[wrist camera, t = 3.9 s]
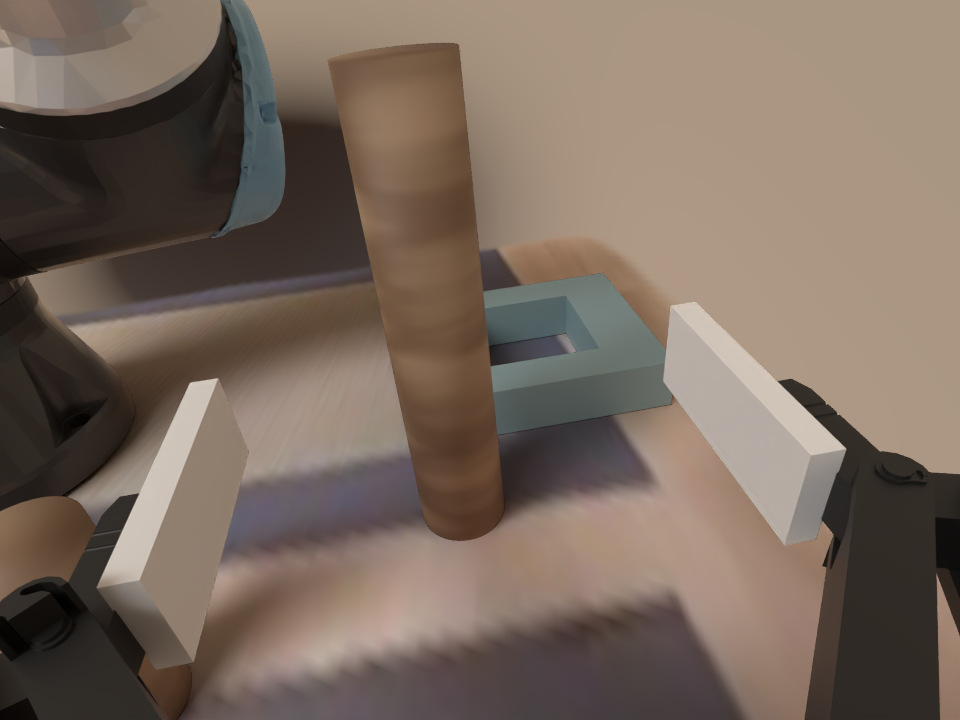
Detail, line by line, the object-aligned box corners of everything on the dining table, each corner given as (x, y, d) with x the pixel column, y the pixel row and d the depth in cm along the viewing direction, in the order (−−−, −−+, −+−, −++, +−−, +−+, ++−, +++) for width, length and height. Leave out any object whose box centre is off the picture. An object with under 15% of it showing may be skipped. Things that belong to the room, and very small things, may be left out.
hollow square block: (670, 404, 34) (675, 361, 32) (431, 446, 33) (424, 404, 31) (602, 309, 44) (603, 272, 42) (417, 339, 43) (410, 302, 41)
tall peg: (407, 506, 29) (305, 60, 18) (470, 467, 31) (412, 42, 20) (455, 555, 26) (369, 65, 15) (521, 508, 28) (485, 43, 17)
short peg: (69, 698, 23) (-74, 544, 18) (175, 632, 24) (74, 477, 20) (87, 789, 20) (-76, 638, 15) (205, 707, 22) (96, 549, 17)
